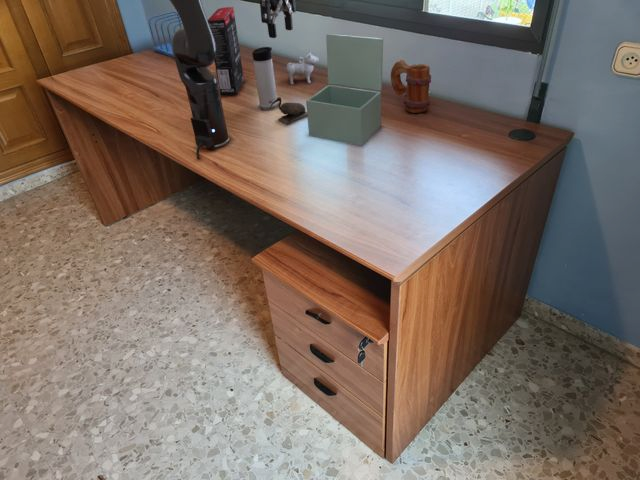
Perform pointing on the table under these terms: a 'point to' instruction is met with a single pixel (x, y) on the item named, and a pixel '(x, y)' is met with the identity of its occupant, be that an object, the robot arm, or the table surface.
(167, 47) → the file sorter
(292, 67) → the dog figurine
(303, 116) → the figurine
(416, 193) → the table surface
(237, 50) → the graphics card box
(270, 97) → the travel mug
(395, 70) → the mug
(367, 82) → the lid
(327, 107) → the chest
